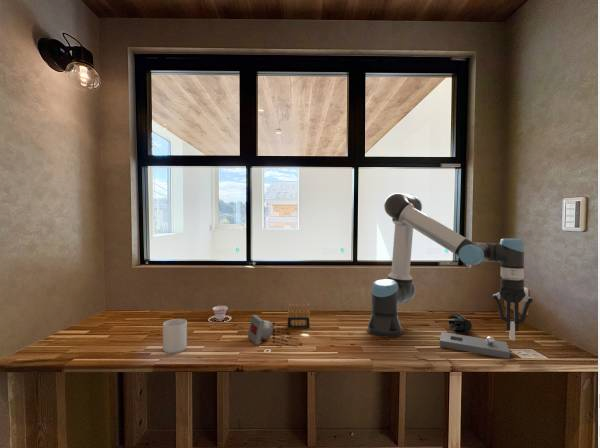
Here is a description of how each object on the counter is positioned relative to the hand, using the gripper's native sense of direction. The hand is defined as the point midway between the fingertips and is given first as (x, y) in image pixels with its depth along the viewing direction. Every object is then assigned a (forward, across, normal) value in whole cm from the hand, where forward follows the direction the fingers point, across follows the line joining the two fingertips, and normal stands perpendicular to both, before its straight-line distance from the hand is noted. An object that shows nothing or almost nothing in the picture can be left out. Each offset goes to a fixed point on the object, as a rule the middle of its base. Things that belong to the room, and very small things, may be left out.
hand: (512, 338), depth 120 cm
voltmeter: (+5, -88, -36) cm, 95 cm away
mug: (+5, -119, -58) cm, 133 cm away
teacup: (+5, -129, -22) cm, 131 cm away
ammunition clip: (+5, -87, -13) cm, 89 cm away
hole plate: (+6, -13, 0) cm, 15 cm away
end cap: (+6, -18, +20) cm, 28 cm away
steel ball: (+2, -7, 0) cm, 8 cm away
